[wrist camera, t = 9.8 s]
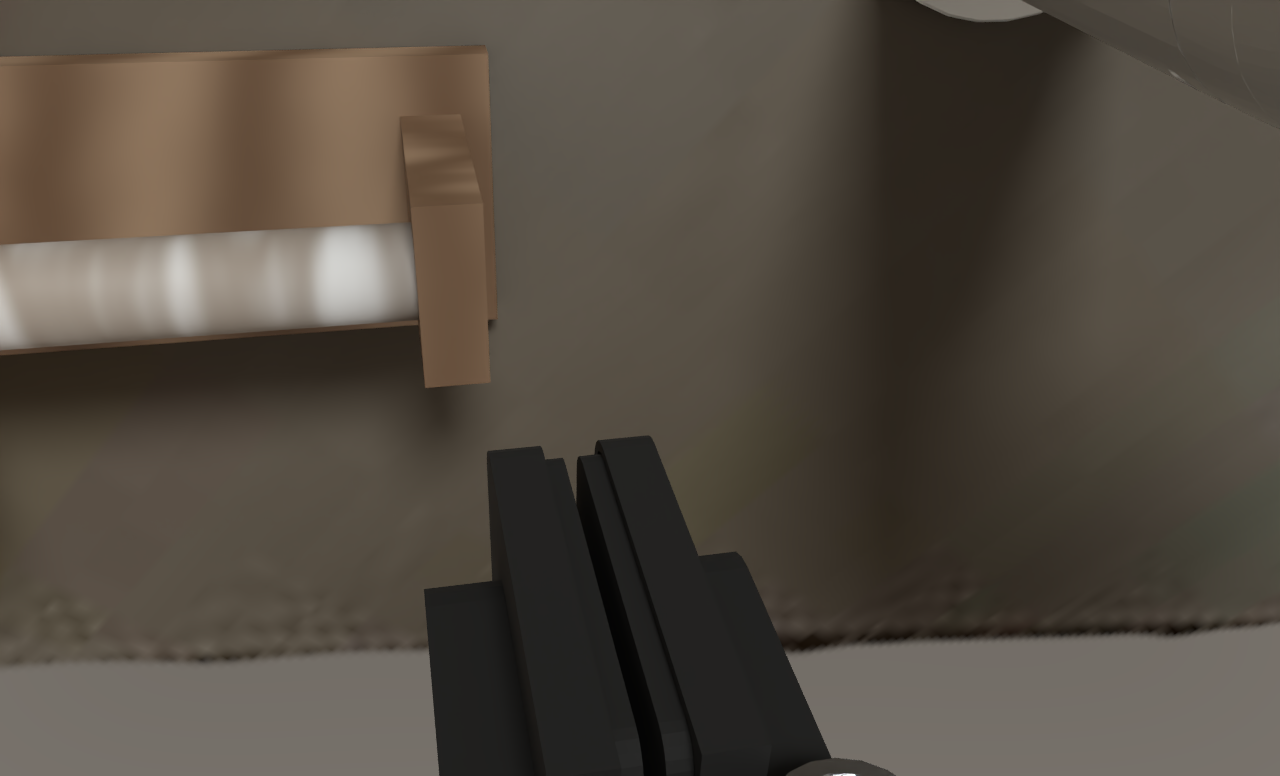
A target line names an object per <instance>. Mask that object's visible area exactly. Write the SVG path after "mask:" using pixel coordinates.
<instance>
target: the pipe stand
mask: <svg viewBox="0 0 1280 776" xmlns="http://www.w3.org/2000/svg"><path fill="white" fill-rule="evenodd" d="M491 319H498V318H497V290H496V262H495V234H494V206H493V178H492V150H491V122H490V94H489V66H488V52H487V50H486V47H485V45H480V46H437V47H394V48H352V49H309V50H267V51H224V52H181V53H139V54H96V55H54V56H11V57H0V356H1V355H15V354H28V353H42V352H55V351H69V350H83V349H96V348H110V347H124V346H137V345H151V344H164V343H178V342H192V341H205V340H219V339H232V338H246V337H260V336H273V335H287V334H301V333H314V332H328V331H341V330H355V329H369V328H382V327H396V326H410V325H418V327H419V336H420V345H421V354H422V363H423V373H424V382H425V388H431V387H443V386H454V385H466V384H478V383H490V363H489V338H488V320H491Z"/></svg>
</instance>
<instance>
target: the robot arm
mask: <svg viewBox="0 0 1280 776" xmlns="http://www.w3.org/2000/svg"><path fill="white" fill-rule="evenodd" d="M916 1H917V2H919V3H920V4H922V5H925V6H927V7H929V8H931V9H933V10H935V11H938V12H940V13H942V14H944V15H946V16H949V17H954V18H959V19H964V20H969V21H974V22H1006V21H1012V20H1016V19H1020V18H1025V17H1029V16H1034V15H1038V14H1041V13H1043V12H1045V13H1047V14H1049V15H1051V16H1053V17H1055V18H1057V19H1059V20H1061V21H1063V22H1065V23H1067V24H1069V25H1071V26H1073V27H1075V28H1077V29H1078V30H1080V31H1082V32H1084V33H1086V34H1088V35H1090V36H1092V37H1094V38H1096V39H1098V40H1100V41H1102V42H1104V43H1106V44H1108V45H1110V46H1112V47H1114V48H1116V49H1118V50H1120V51H1122V52H1124V53H1126V54H1128V55H1130V56H1132V57H1134V58H1136V59H1137V60H1139V61H1141V62H1143V63H1145V64H1147V65H1149V66H1151V67H1153V68H1155V69H1157V70H1159V71H1161V72H1163V73H1165V74H1167V75H1169V76H1171V77H1173V78H1175V79H1177V80H1179V81H1181V82H1183V83H1185V84H1187V85H1189V86H1191V87H1193V88H1194V89H1196V90H1198V91H1200V92H1203V93H1205V94H1207V95H1209V96H1211V97H1213V98H1215V99H1217V100H1219V101H1221V102H1223V103H1225V104H1228V105H1230V106H1232V107H1234V108H1236V109H1238V110H1240V111H1242V112H1244V113H1246V114H1248V115H1250V116H1252V117H1254V118H1256V119H1258V120H1260V121H1262V122H1264V123H1266V124H1269V125H1271V126H1274V127H1276V128H1279V129H1280V0H916ZM487 473H488V495H489V517H490V539H491V561H492V581H489V582H481V583H472V584H464V585H456V586H448V587H439V588H431V589H424V594H425V607H426V619H427V631H428V643H429V655H430V667H431V679H432V690H433V703H434V715H435V727H436V739H437V751H438V764H439V775H440V776H896V775H894V774H893V773H891V772H890V771H888V770H886V769H883V768H880V767H877V766H875V765H872V764H869V763H867V762H864V761H860V760H850V759H841V758H831V756H830V754H829V751H828V749H827V747H826V745H825V743H824V740H823V738H822V736H821V733H820V731H819V729H818V727H817V724H816V722H815V720H814V717H813V715H812V713H811V710H810V708H809V706H808V704H807V701H806V699H805V697H804V695H803V692H802V690H801V688H800V685H799V683H798V681H797V679H796V676H795V674H794V672H793V670H792V667H791V665H790V663H789V661H788V658H787V656H786V654H785V651H784V649H783V647H782V645H781V642H780V640H779V638H778V636H777V633H776V631H775V629H774V626H773V624H772V622H771V620H770V617H769V615H768V613H767V611H766V608H765V606H764V604H763V601H762V599H761V597H760V595H759V592H758V590H757V588H756V586H755V583H754V581H753V579H752V576H751V574H750V572H749V570H748V567H747V566H746V564H745V562H744V560H743V558H742V557H741V556H740V555H739V554H738V553H737V552H729V553H721V554H713V555H705V556H698V554H697V551H696V549H695V546H694V543H693V541H692V538H691V536H690V533H689V531H688V528H687V526H686V523H685V520H684V518H683V515H682V513H681V510H680V508H679V505H678V503H677V500H676V497H675V495H674V492H673V490H672V487H671V485H670V482H669V480H668V477H667V474H666V472H665V469H664V467H663V464H662V462H661V459H660V457H659V454H658V451H657V449H656V446H655V444H654V442H653V440H652V438H651V437H650V436H638V437H628V438H618V439H607V440H598V441H597V442H596V446H595V455H587V456H579V457H578V460H577V496H576V502H575V498H574V495H573V491H572V487H571V484H570V480H569V476H568V473H567V469H566V465H565V462H564V459H563V458H557V459H547V460H545V457H544V453H543V450H542V448H541V446H535V447H525V448H515V449H504V450H494V451H488V452H487Z"/></svg>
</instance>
